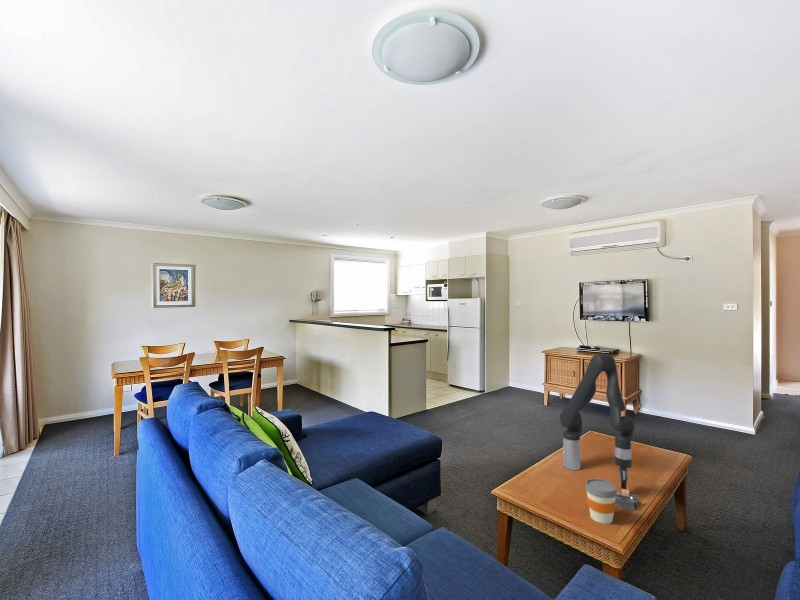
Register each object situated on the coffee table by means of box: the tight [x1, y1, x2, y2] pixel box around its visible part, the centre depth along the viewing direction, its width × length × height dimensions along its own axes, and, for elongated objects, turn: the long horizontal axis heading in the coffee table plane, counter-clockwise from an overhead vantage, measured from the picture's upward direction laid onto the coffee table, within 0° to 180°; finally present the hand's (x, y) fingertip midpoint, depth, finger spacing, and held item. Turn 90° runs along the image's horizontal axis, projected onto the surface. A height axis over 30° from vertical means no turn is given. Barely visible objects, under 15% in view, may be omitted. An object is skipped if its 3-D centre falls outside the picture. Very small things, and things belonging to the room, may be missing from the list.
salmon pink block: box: [621, 488, 630, 495], centre depth 186 cm, size 3×3×5 cm
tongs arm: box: [616, 492, 639, 508], centre depth 185 cm, size 17×4×5 cm, turn 58°
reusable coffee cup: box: [585, 478, 618, 525], centre depth 172 cm, size 13×13×15 cm
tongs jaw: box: [615, 497, 635, 511], centre depth 182 cm, size 15×3×4 cm, turn 63°
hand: (623, 489), depth 192 cm, fingers closed
